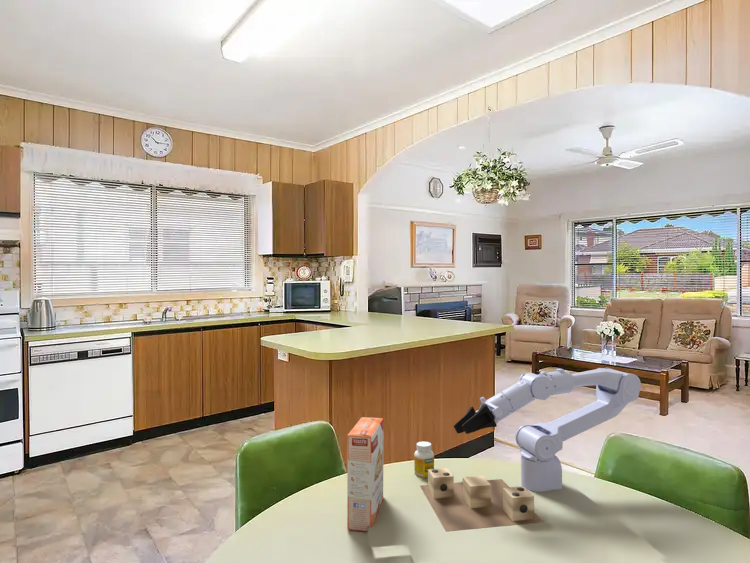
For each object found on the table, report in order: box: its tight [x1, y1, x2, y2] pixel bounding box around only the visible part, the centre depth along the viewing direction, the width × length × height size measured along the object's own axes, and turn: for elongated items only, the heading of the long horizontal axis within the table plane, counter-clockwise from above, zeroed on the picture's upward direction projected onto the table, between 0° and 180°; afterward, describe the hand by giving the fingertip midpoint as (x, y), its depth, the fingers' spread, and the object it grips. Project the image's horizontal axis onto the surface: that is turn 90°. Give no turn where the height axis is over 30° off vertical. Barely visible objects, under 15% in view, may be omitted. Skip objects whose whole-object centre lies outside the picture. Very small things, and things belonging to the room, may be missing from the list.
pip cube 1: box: [427, 467, 455, 499], centre depth 116 cm, size 5×5×5 cm
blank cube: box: [462, 475, 491, 508], centre depth 111 cm, size 5×5×5 cm
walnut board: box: [419, 478, 545, 532], centre depth 111 cm, size 22×22×2 cm
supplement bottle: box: [413, 441, 435, 479], centre depth 127 cm, size 5×5×10 cm
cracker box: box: [346, 416, 385, 533], centre depth 108 cm, size 14×6×21 cm, turn 168°
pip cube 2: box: [503, 485, 535, 521], centre depth 105 cm, size 5×5×5 cm
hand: (459, 429), depth 114 cm, fingers open, 7 cm apart
